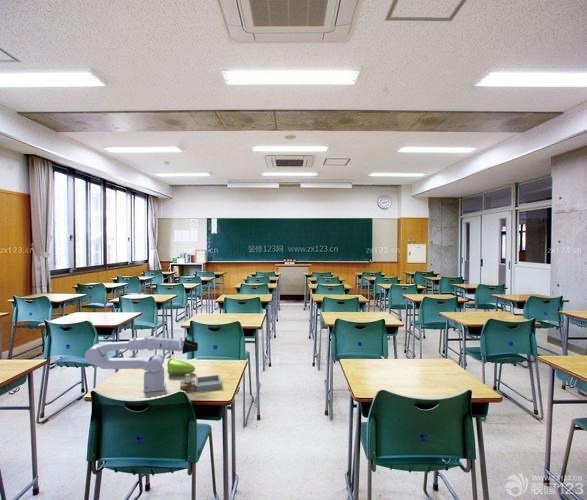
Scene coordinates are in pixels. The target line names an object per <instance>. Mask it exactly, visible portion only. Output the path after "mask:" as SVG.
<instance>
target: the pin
mask: <svg viewBox="0 0 587 500" xmlns="http://www.w3.org/2000/svg"><path fill="white" fill-rule="evenodd" d="M184 378H185V379H184V380H185V384H189V383H190V380H191V373H189V374H184Z"/></svg>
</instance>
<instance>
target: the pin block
mask: <svg viewBox="0 0 587 500" xmlns="http://www.w3.org/2000/svg"><path fill="white" fill-rule="evenodd" d="M179 388H180V390H183V391H186V392H192V391H196V378H193V379H191V378H190V383H189V384H185V379H184V380H183V379H182V380H180V387H179ZM180 390H179V391H180Z"/></svg>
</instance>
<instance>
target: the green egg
mask: <svg viewBox="0 0 587 500" xmlns="http://www.w3.org/2000/svg"><path fill="white" fill-rule="evenodd" d="M195 371H196V368H195V366H194V365H193V364H191V363H190V362H189V363H188V362H187V361H183V360H181V359H175V358H170V359H168V360H167V373H168V375H185V374H192V373H194V372H195Z"/></svg>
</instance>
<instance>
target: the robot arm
mask: <svg viewBox="0 0 587 500" xmlns="http://www.w3.org/2000/svg"><path fill="white" fill-rule="evenodd" d="M127 349H128V350H129V351H131V352H133V351H135V352H136V351H143V350H148V351H150V352H151V351H154V350H160V351H173V352H178V353H179V352H181V354H182V355H184V354H187V353H192V352H197V351H198V349H199V343H198V342H196V341H193V340H190V339H189V338H186V337H184V340H183V337H182V336H181V337H180V339H178V338H177V339H176V338H167V337H166V338H165V337H156V336H155V335H149V336H148V337H147V336H144V337H138V338H137V337H136V336H133V337H132V338H130V339H129V340H128V341H117V342H116V341H115V342H113V341H112V342H100V343H95V344H93V345H92V346H91V347H90V348H89V349H87V350H86V351H85V353H84V358H85V359H84V360H86V361H87V363H88V364H91V365H94V366H95V367H97V368H100V369H102V370H138V369H139V370H141V369H142V370H144V373H143V393H149V392H151V393H152V392H159V391H160V392H161V391H165V389H166V383H165V367H163V365H164V362H165V357H164V356H163V355H162V354H154V355H152V356H151V355H150V356H146V357H110V356H109V355H108V352H113V351H120V350H127Z"/></svg>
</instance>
